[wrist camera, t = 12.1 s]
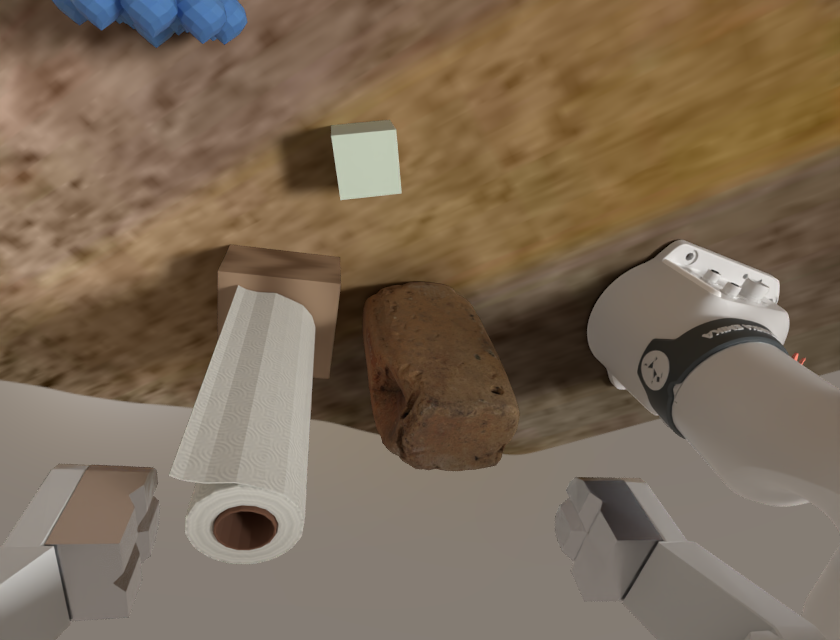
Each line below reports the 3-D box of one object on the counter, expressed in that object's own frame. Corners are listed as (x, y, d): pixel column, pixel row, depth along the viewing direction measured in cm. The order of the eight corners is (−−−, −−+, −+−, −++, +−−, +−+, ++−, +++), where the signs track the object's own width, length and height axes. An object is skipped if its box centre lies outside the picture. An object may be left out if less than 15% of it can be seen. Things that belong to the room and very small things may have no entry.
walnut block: (339, 257, 49) (340, 283, 44) (329, 345, 54) (329, 378, 48) (230, 244, 47) (217, 271, 42) (228, 337, 51) (217, 371, 46)
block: (469, 283, 53) (536, 406, 35) (454, 345, 56) (508, 484, 39) (364, 272, 50) (382, 398, 33) (355, 337, 54) (366, 481, 36)
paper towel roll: (317, 353, 47) (308, 561, 28) (249, 356, 46) (194, 574, 28) (312, 281, 43) (298, 467, 25) (238, 284, 42) (166, 478, 24)
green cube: (389, 119, 44) (396, 129, 39) (395, 178, 46) (401, 193, 42) (331, 125, 43) (331, 135, 39) (339, 183, 46) (340, 199, 41)
